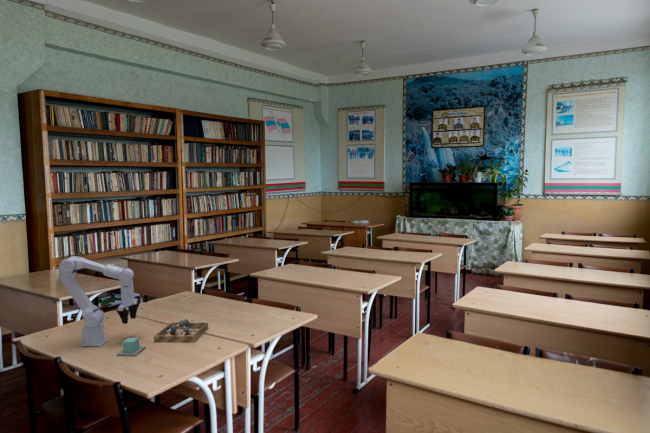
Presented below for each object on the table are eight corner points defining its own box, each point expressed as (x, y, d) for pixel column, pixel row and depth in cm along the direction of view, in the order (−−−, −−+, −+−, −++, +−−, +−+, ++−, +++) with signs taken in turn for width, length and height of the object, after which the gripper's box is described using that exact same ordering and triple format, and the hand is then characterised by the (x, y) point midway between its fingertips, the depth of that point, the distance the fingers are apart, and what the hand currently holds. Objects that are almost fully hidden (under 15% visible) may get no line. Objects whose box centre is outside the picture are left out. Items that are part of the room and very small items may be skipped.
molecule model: (172, 348, 221) (175, 341, 213) (163, 334, 223) (165, 326, 215) (198, 331, 231) (201, 324, 222) (188, 318, 232) (191, 310, 224)
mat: (116, 355, 195) (116, 354, 195) (127, 348, 204) (127, 346, 204) (135, 356, 194) (135, 354, 194) (145, 348, 203) (145, 346, 203)
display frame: (154, 342, 211) (153, 336, 211) (171, 327, 231) (171, 322, 230) (194, 342, 209) (193, 336, 209) (208, 328, 229) (208, 322, 229)
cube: (123, 352, 197) (122, 341, 196) (129, 348, 202) (128, 337, 201) (134, 352, 197) (133, 341, 196) (139, 348, 202) (138, 337, 201)
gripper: (127, 297, 204) (129, 326, 205) (142, 289, 219) (144, 316, 220) (113, 297, 205) (115, 325, 206) (129, 289, 219) (130, 316, 220)
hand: (129, 320), depth 213 cm, fingers open, 7 cm apart
